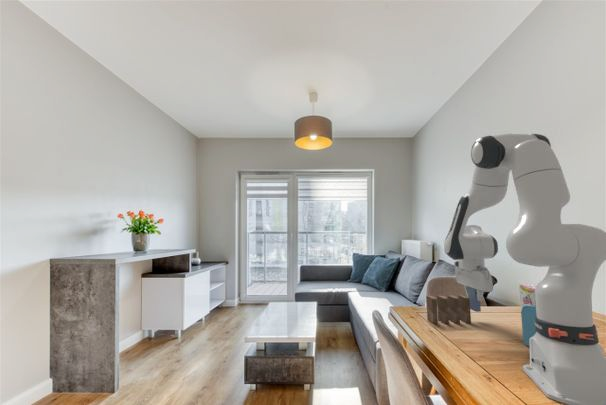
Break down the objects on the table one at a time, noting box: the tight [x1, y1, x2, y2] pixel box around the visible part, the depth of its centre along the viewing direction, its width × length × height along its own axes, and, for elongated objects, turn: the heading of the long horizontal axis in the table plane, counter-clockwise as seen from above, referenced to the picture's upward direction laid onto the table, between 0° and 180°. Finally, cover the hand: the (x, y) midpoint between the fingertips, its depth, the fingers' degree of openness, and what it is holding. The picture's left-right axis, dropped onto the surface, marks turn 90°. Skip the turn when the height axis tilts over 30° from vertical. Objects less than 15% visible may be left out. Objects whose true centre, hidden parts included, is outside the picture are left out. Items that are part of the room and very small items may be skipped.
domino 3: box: [447, 294, 461, 325], centre depth 123 cm, size 2×5×10 cm, turn 2°
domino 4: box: [457, 294, 472, 324], centre depth 123 cm, size 2×5×10 cm, turn 2°
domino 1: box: [425, 295, 439, 325], centre depth 122 cm, size 2×5×10 cm, turn 2°
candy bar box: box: [519, 284, 537, 311], centre depth 108 cm, size 11×5×16 cm, turn 168°
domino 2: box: [436, 295, 450, 325], centre depth 123 cm, size 2×5×10 cm, turn 2°
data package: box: [520, 306, 537, 348], centre depth 96 cm, size 12×4×12 cm, turn 52°
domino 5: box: [467, 286, 482, 313], centre depth 123 cm, size 2×5×10 cm, turn 2°
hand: (474, 298), depth 123 cm, fingers closed on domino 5, 5 cm apart
